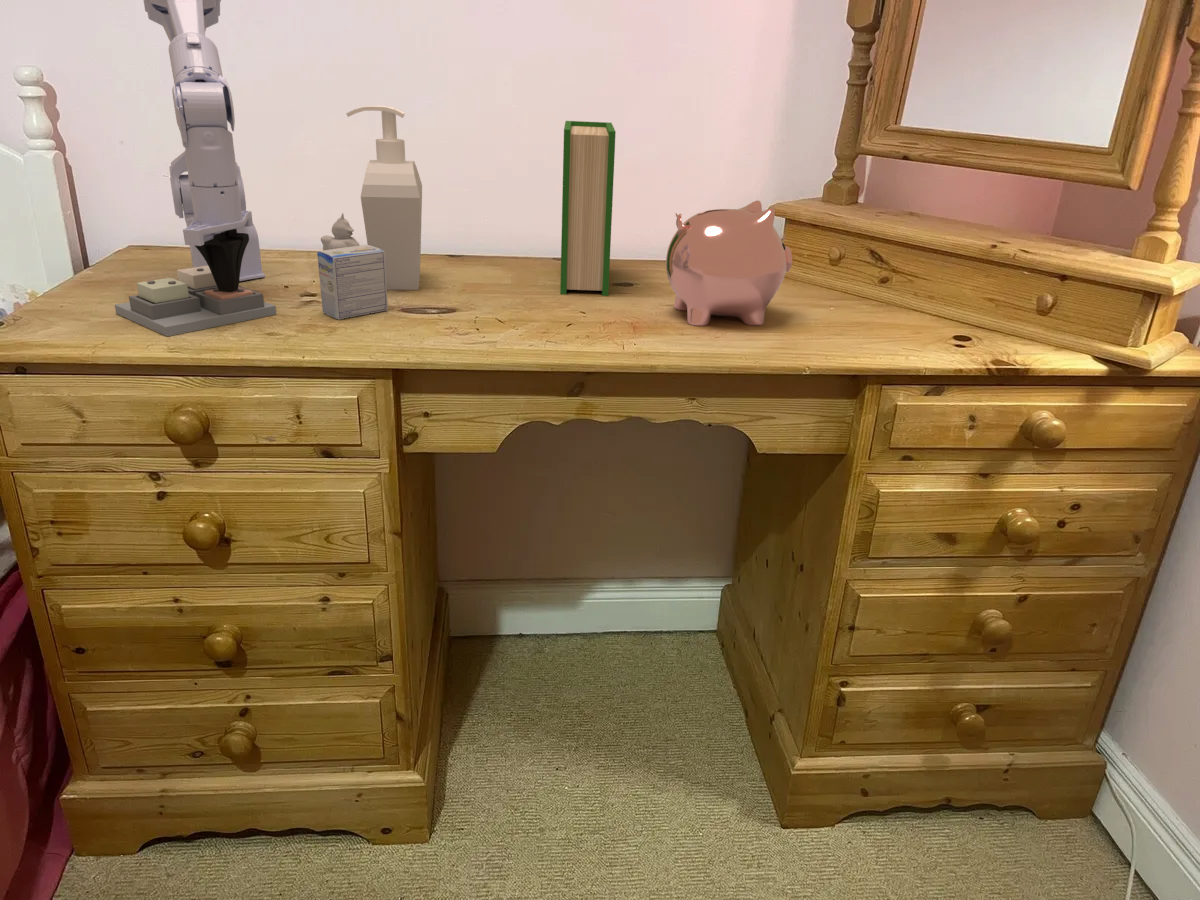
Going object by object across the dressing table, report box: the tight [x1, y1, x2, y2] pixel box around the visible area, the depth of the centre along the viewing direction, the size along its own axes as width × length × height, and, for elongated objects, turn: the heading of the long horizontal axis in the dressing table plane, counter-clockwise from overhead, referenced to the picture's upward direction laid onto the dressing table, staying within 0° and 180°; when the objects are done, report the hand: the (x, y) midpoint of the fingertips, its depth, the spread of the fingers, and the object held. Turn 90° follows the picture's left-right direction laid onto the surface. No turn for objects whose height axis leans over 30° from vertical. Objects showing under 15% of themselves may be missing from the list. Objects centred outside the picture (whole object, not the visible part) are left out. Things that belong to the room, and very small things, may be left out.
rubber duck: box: [320, 212, 361, 251], centre depth 150 cm, size 5×7×8 cm
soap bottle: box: [346, 105, 423, 291], centre depth 132 cm, size 12×10×26 cm
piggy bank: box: [665, 200, 793, 327], centre depth 125 cm, size 15×18×16 cm
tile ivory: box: [176, 266, 217, 289], centre depth 121 cm, size 4×4×2 cm
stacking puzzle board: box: [114, 285, 277, 337], centre depth 118 cm, size 15×14×3 cm
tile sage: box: [136, 277, 189, 303], centre depth 114 cm, size 4×4×2 cm
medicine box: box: [316, 244, 389, 321], centre depth 120 cm, size 8×4×9 cm, turn 134°
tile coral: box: [204, 285, 254, 300], centre depth 117 cm, size 4×4×2 cm
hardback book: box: [559, 120, 617, 297], centre depth 139 cm, size 18×7×24 cm, turn 1°
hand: (228, 290), depth 117 cm, fingers closed, pressing on tile coral
